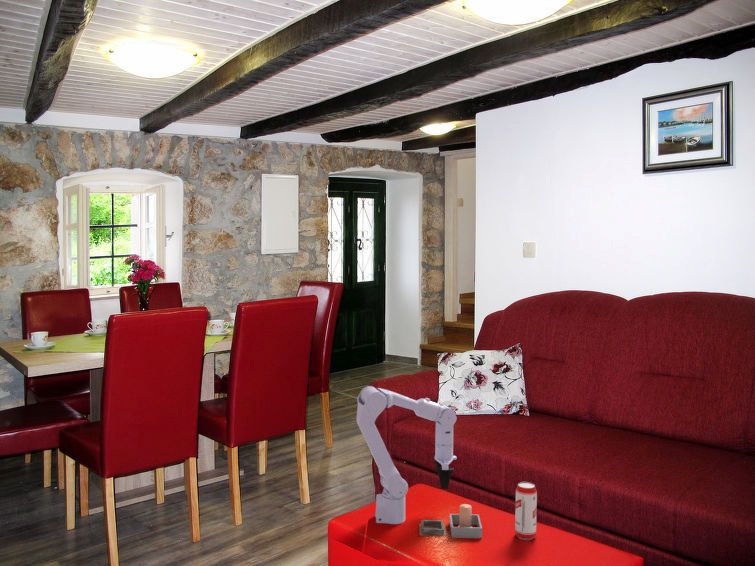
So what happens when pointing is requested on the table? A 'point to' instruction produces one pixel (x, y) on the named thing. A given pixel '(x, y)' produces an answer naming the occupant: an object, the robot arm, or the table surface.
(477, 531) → the bin
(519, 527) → the beer can
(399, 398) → the robot arm
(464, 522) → the peach cylinder
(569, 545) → the table surface
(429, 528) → the square framed plate
